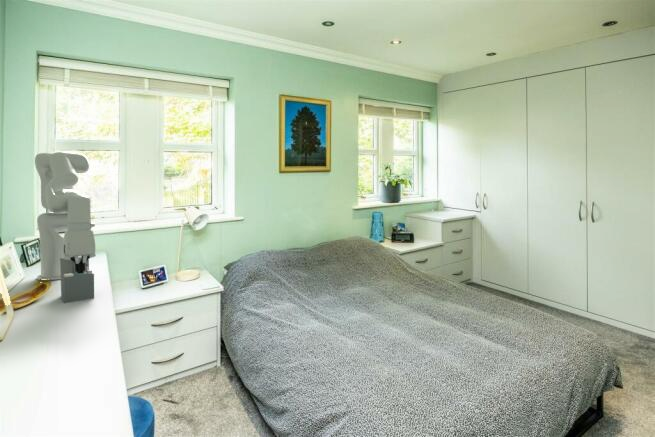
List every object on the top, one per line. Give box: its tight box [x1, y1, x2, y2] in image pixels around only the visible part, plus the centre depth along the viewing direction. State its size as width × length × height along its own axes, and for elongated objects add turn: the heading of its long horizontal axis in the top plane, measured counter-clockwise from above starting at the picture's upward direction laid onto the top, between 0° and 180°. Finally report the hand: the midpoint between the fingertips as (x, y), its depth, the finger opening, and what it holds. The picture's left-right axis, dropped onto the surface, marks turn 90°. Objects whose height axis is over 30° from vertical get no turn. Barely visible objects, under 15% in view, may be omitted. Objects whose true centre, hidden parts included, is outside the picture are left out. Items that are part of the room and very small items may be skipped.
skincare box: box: [60, 256, 90, 275], centre depth 153 cm, size 8×7×16 cm
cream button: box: [64, 273, 74, 277], centre depth 144 cm, size 3×3×3 cm
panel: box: [60, 272, 95, 304], centre depth 147 cm, size 4×10×10 cm, turn 139°
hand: (80, 272), depth 146 cm, fingers closed
